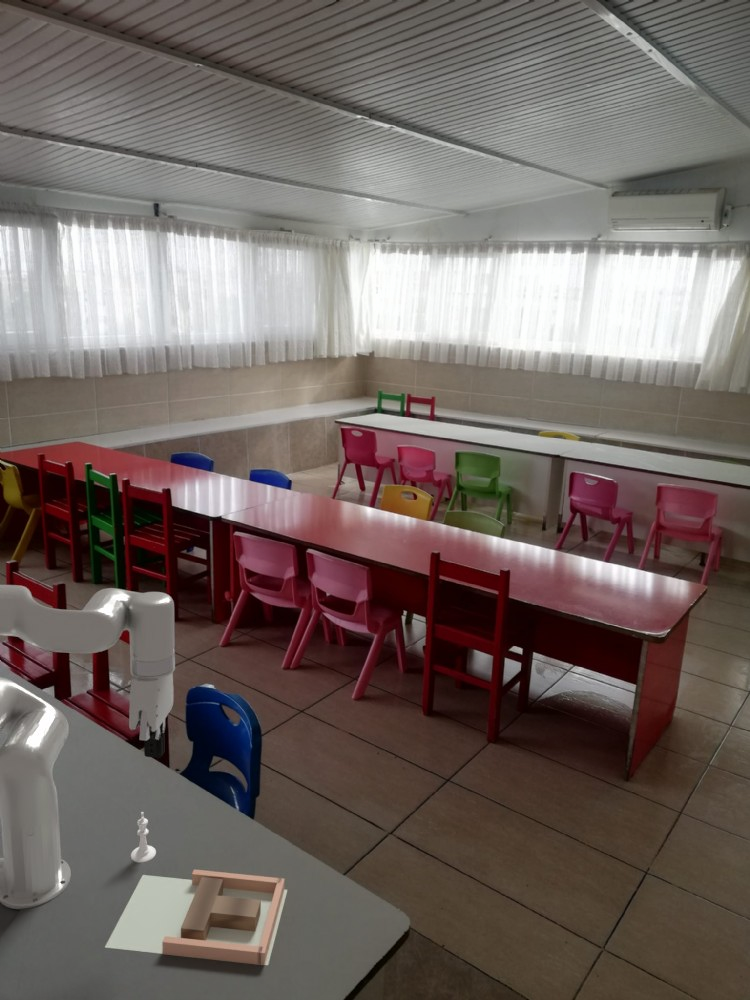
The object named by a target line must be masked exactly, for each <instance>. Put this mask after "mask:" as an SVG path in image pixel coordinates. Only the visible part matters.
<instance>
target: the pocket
mask: <svg viewBox="0 0 750 1000" xmlns="http://www.w3.org/2000/svg"><path fill="white" fill-rule="evenodd" d="M202 877H205V878H215V879H223V888H228V889H238V890H247V891H257V892H267V893H274V896H273V899H272V903H271V906H270V910H269V913H268V917H267V921H266V924H265V928H264V931H263V935H262V939H261V942H260V946H251V945H242V944H232V943H223V942H214V941H205V940H195V939H186V938H177V937H168V936H165V937H164V939H163V942H162V951H163V954H162V955H167V954H169V955H170V956H176V955H178V957H185V956H188V957H187V958H194V957H197V958H196V959H204V958H206V960H213V959H215V960H214V961H222V960H224V961H223V962H231V961H233V962H232V963H240V962H242V963H241V964H249V963H251V964H252V965H258V964H261V965H260V966H266V965H265V961H266V958H267V954H268V950H269V946H270V942H271V938H272V935H273V931H274V927H275V923H276V919H277V916H278V912H279V908H280V904H281V900H282V897H283V893H284V889H285V884H286V883H285V881H286V880H285V879H286V878H281V877H271V876H263V875H253V874H252V875H251V874H243V873H233V872H232V873H231V872H225V871H223V872H222V871H213V870H202V869H193V871H192V873H191V880H192V885H199V883H200V881H201V878H202ZM169 955H168V956H169ZM251 964H250V965H251Z"/></svg>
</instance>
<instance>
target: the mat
mask: <svg viewBox="0 0 750 1000" xmlns="http://www.w3.org/2000/svg"><path fill="white" fill-rule="evenodd" d="M198 886H199V885H192V879H189V878H188V879H184V878H177V877H169V876H168V877H166V876H158V875H148V874H147V875H146V874H142V876H141V878H140V879H139V881H138V882H137V885H136V887H135V889H134V891H133V893H132V895H131V897H130V899H129V900H128V902H127V904H126V906H125V908H124V910H123V912H122V914H121V915H120V917H119V919H118V921H117V923H116V925H115V926H114V928H113V931H112V932H111V934H110V936H109V939H107V942H106V943H105V946H104V948H106V949H113V950H122V951H123V950H124V951H132V952H143V953H149V954H150V953H151V954H159V955H160V954H161V955H164V954H163V951H162V942H163V939H164V937H165V936H168V937H177V938H181V926H182V924H183V922H184V919H185V917H186V914H187V912H188V910H189V907H190V905H191V902H192V900H193V898H194V895H195V893H196V890H197V888H198ZM287 893H288V889H285V888H284V893H283V897H282V900H281V904H280V908H279V912H278V916H277V919H276V923H275V927H274V931H273V935H272V938H271V942H270V946H269V950H268V954H267V958H266V961H265V965H264V966H268V967H269V964H270V959H271V955H272V951H273V949H274V944H275V939H276V937H277V932H278V929H279V924H280V921H281V916H282V912H283V910H284V909H283V908H284V905H285V901H286V897H287ZM222 896H227V897H237V898H246V899H256V900H261V914H260V917H259V921H258V924H257V928H256V931H245V930H236V929H227V928H217V927H210V930H209V933H208V935H207V938H206V941H214V942H223V943H232V944H242V945H251V946H260V942H261V939H262V935H263V931H264V928H265V924H266V921H267V917H268V913H269V910H270V906H271V903H272V899H273V896H274V893H267V892H257V891H247V890H238V889H228V888H223V895H222ZM166 955H168V956H169V954H166ZM175 956H178V955H175ZM178 957H179V956H178ZM184 957H187V958H189V957H188V956H184ZM193 958H194V959H195V958H196V959H198V958H197V957H193ZM203 959H206V958H203ZM206 960H207V959H206ZM212 960H214V961H216V960H215V959H212ZM221 961H223V962H225V961H224V960H221ZM230 962H232V963H234V962H233V961H230ZM239 963H241V964H243V963H242V962H239ZM248 964H250V965H251V963H248ZM257 965H260V966H262V965H261V964H257Z"/></svg>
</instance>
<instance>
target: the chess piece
mask: <svg viewBox="0 0 750 1000" xmlns="http://www.w3.org/2000/svg"><path fill="white" fill-rule="evenodd" d="M144 814H145V813H144V811H141V812H140V817H141V818H140V819H138V820H137V822H136V823H137V826H138V830H137V833H136V834H137V836H138V837H139V844H138V845H139V846H138V847H136V848H135V849H133V850H132V851H131V853H130V859H131V860H132V861H133V862H135V863H139V864H140V863H141V864H142V863H147V862H149V861H151V860H152V859H153V858H155V856H156V854H157V850H156V848H155V847H153V845H148V842H147V837H146V836H147V835H148V834H149V829H148V828H147V826H148V823H149V820H148V818H146V817H145V815H144Z"/></svg>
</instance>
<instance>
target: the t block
mask: <svg viewBox="0 0 750 1000" xmlns="http://www.w3.org/2000/svg"><path fill="white" fill-rule="evenodd" d="M222 895H223V879H215V878H205V877H202V878H201V881H200V883H199V886H198V888H197V890H196V893H195V895H194V898H193V900H192V902H191V905H190V907H189V910H188V912H187V914H186V917H185V919H184V922H183V924H182V926H181V938H186V939H195V940H205V941H206V938H207V935H208V933H209V930H210V927H217V928H227V929H236V930H245V931H256V928H257V924H258V921H259V917H260V914H261V900H256V899H246V898H237V897H227V896H222Z"/></svg>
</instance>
